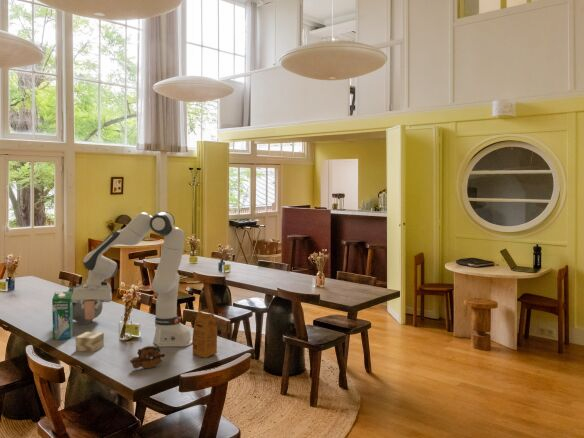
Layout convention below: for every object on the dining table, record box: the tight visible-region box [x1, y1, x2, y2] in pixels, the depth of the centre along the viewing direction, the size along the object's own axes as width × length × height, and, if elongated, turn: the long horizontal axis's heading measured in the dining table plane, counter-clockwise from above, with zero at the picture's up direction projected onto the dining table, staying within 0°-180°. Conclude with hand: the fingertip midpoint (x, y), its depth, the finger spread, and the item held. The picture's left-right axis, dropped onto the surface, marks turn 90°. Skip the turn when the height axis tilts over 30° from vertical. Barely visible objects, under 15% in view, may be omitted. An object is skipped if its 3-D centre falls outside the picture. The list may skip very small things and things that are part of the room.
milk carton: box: [51, 291, 74, 340], centre depth 282 cm, size 9×9×25 cm
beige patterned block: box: [75, 331, 105, 353], centre depth 264 cm, size 10×10×7 cm
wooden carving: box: [129, 345, 166, 369], centre depth 238 cm, size 16×5×10 cm, turn 126°
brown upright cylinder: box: [85, 300, 96, 320], centre depth 263 cm, size 5×5×9 cm
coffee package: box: [192, 310, 218, 359], centre depth 257 cm, size 10×12×22 cm
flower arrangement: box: [66, 283, 104, 325], centre depth 311 cm, size 25×25×24 cm
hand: (89, 308), depth 262 cm, fingers closed on brown upright cylinder, 5 cm apart
